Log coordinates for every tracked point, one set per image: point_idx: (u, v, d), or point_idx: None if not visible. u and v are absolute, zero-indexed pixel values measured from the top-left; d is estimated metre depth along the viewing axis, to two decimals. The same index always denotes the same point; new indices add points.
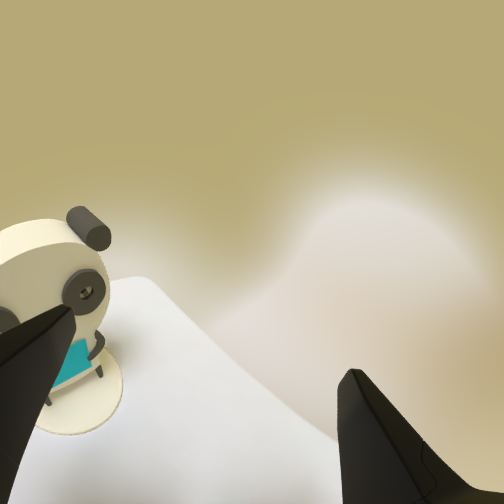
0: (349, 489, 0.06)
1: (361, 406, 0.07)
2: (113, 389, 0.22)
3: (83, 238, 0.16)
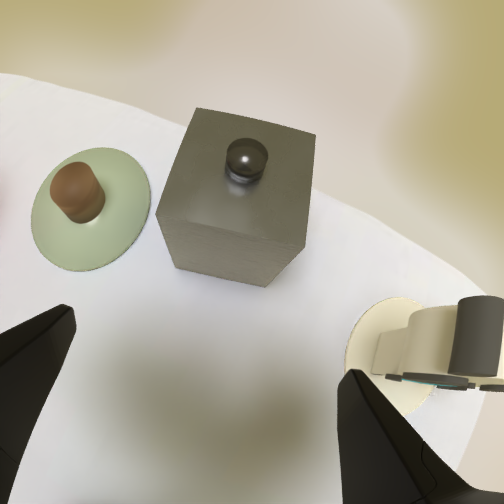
0: (349, 489, 0.06)
1: (361, 406, 0.07)
2: (417, 400, 0.22)
3: None
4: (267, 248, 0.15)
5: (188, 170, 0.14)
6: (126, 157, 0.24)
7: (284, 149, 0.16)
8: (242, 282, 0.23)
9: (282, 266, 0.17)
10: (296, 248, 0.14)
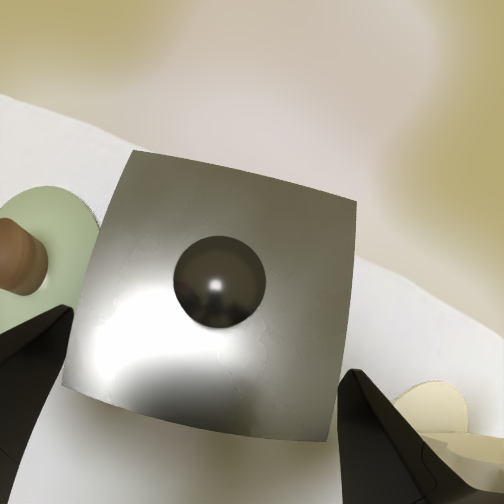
0: (349, 489, 0.06)
1: (361, 406, 0.07)
2: None
3: None
4: None
5: (108, 298, 0.07)
6: (74, 201, 0.17)
7: (299, 241, 0.08)
8: None
9: None
10: None
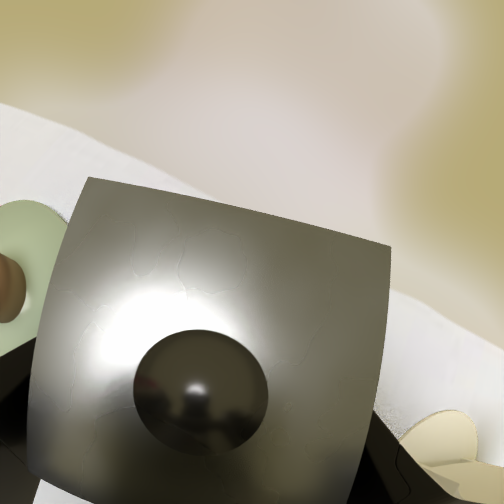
0: None
1: None
2: None
3: None
4: None
5: (62, 384, 0.04)
6: (53, 218, 0.15)
7: (315, 311, 0.06)
8: None
9: None
10: None
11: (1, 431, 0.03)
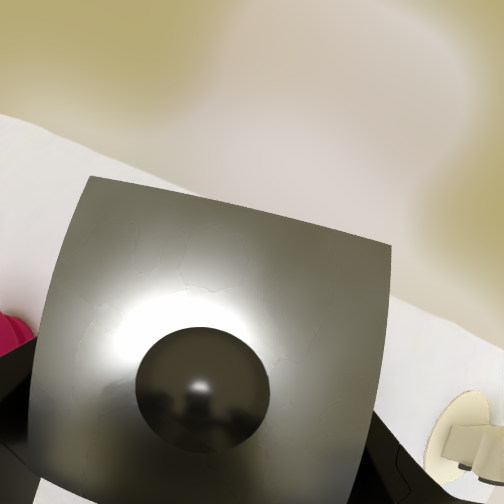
0: None
1: None
2: None
3: None
4: None
5: (64, 383, 0.05)
6: None
7: (316, 309, 0.06)
8: None
9: None
10: None
11: (1, 431, 0.03)
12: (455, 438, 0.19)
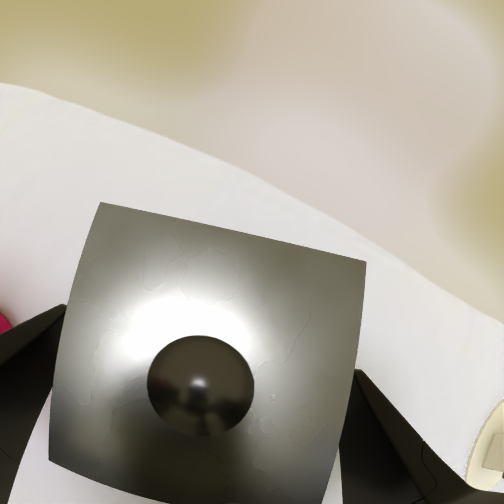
0: (349, 489, 0.06)
1: (361, 406, 0.07)
2: (502, 473, 0.15)
3: None
4: None
5: (83, 382, 0.06)
6: None
7: (297, 318, 0.07)
8: None
9: None
10: None
11: None
12: (498, 447, 0.14)
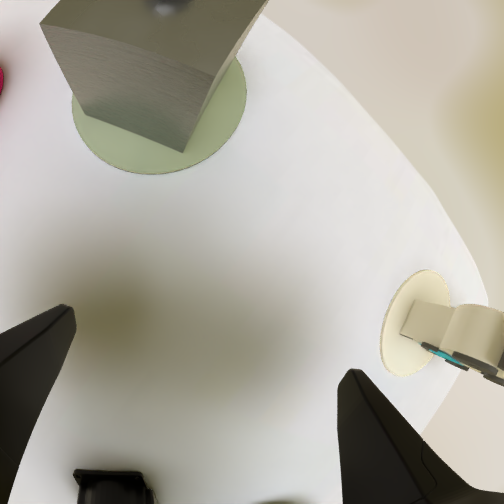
0: (349, 489, 0.06)
1: (361, 406, 0.07)
2: (420, 364, 0.27)
3: None
4: (168, 76, 0.09)
5: None
6: None
7: None
8: None
9: (193, 115, 0.11)
10: (204, 78, 0.08)
11: None
12: (419, 313, 0.24)
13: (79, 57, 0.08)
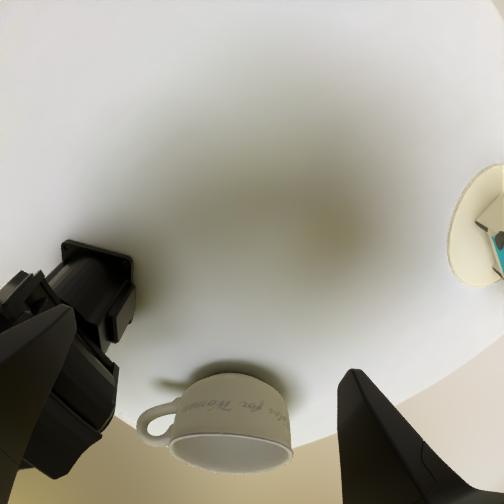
0: (349, 489, 0.06)
1: (361, 406, 0.07)
2: (481, 280, 0.20)
3: None
4: None
5: None
6: None
7: None
8: None
9: None
10: None
11: None
12: (501, 206, 0.16)
13: None
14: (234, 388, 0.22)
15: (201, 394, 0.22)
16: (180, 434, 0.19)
